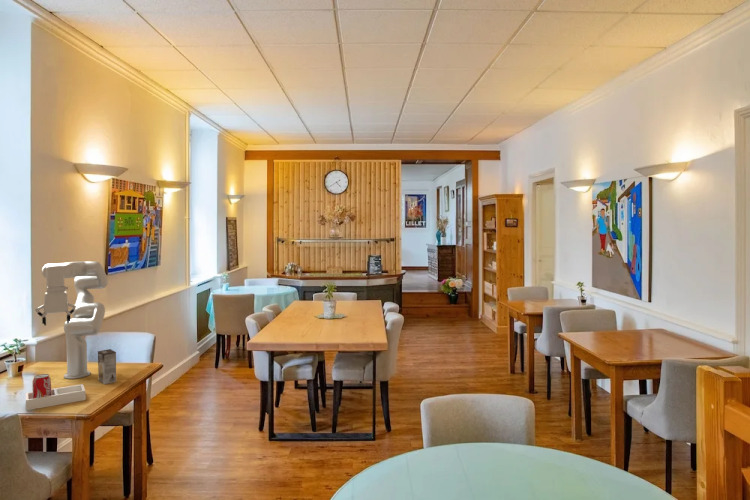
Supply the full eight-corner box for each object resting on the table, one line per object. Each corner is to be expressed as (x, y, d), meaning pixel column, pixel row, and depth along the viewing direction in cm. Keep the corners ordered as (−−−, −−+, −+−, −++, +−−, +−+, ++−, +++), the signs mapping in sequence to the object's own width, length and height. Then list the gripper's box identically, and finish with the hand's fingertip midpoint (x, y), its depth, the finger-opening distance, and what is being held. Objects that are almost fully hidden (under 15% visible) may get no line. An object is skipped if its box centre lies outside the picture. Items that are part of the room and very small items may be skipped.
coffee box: (97, 380, 262) (97, 351, 262) (110, 378, 267) (110, 348, 266) (104, 384, 256) (103, 354, 256) (117, 381, 261) (116, 351, 260)
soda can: (41, 404, 224) (41, 378, 224) (29, 403, 226) (28, 377, 225) (55, 399, 231) (54, 374, 231) (42, 398, 233) (41, 373, 232)
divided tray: (25, 402, 230) (25, 393, 229) (83, 393, 243) (82, 384, 243) (26, 410, 220) (25, 400, 220) (85, 399, 233) (85, 390, 233)
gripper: (75, 287, 254) (76, 320, 255) (34, 290, 244) (35, 324, 245) (76, 289, 248) (77, 323, 249) (34, 291, 238) (35, 327, 238)
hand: (56, 323), depth 247 cm, fingers open, 9 cm apart
